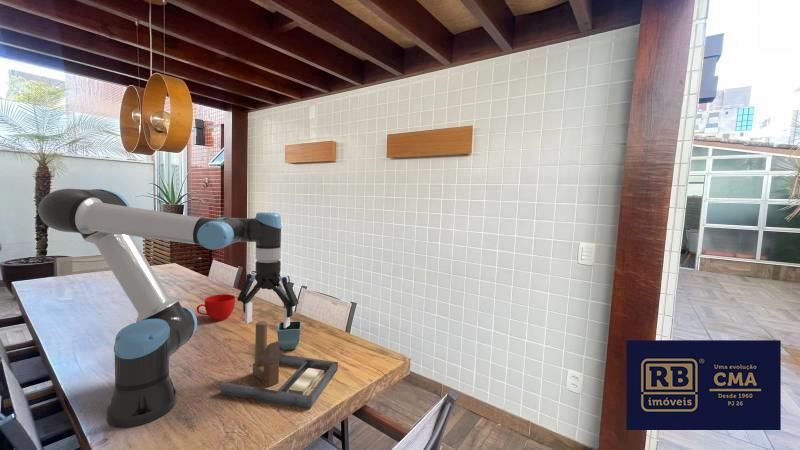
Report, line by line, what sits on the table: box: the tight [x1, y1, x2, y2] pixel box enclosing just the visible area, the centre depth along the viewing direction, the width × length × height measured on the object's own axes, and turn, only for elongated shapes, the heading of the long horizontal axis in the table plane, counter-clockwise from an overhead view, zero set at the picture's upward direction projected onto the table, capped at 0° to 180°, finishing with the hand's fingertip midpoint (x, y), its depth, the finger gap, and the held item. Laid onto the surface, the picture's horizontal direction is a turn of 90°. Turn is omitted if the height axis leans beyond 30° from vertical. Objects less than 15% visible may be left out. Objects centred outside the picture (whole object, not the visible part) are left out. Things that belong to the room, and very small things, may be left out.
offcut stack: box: [288, 368, 325, 396], centre depth 105 cm, size 16×5×3 cm, turn 170°
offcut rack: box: [219, 353, 339, 410], centre depth 106 cm, size 22×29×3 cm
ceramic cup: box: [196, 293, 236, 322], centre depth 155 cm, size 13×17×10 cm
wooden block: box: [252, 320, 281, 387], centre depth 107 cm, size 4×11×18 cm, turn 50°
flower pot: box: [276, 320, 302, 351], centre depth 130 cm, size 9×9×9 cm
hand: (267, 324), depth 106 cm, fingers open, 13 cm apart
